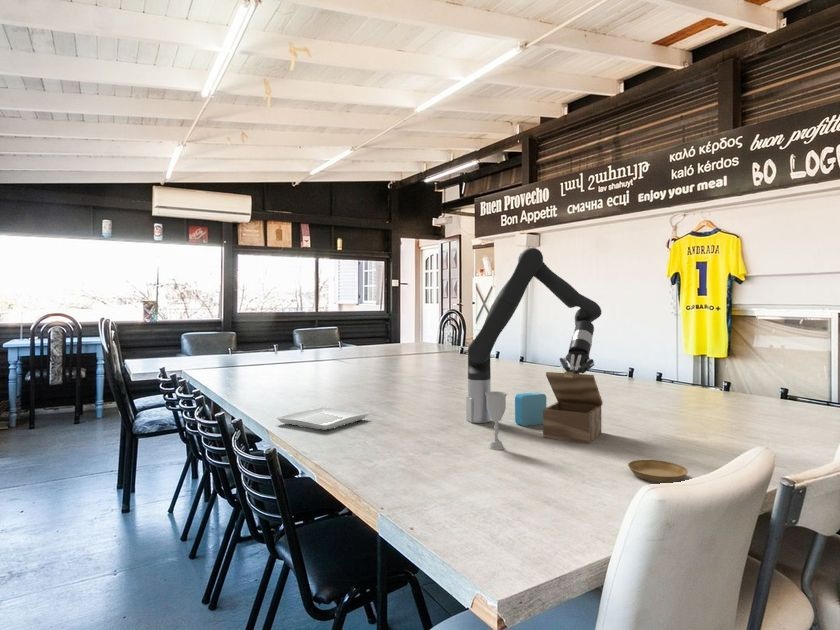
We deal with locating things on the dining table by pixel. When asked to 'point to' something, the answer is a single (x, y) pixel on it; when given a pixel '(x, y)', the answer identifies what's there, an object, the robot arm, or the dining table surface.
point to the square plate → (345, 413)
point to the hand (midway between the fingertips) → (572, 380)
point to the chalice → (496, 414)
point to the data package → (529, 408)
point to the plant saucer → (657, 470)
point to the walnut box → (572, 421)
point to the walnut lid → (574, 388)
